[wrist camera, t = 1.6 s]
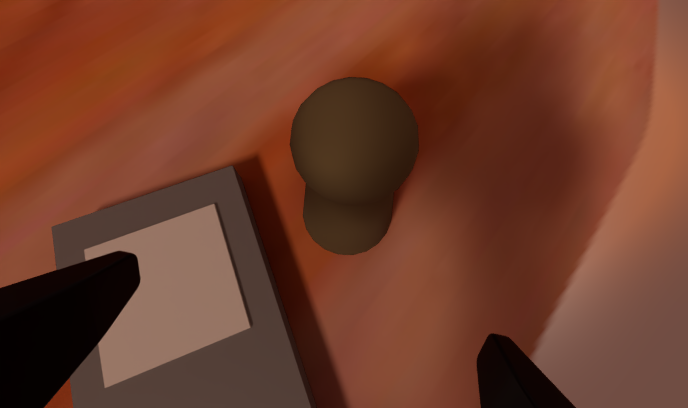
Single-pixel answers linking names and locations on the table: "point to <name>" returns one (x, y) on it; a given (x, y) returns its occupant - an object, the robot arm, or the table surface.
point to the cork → (352, 160)
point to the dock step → (188, 305)
